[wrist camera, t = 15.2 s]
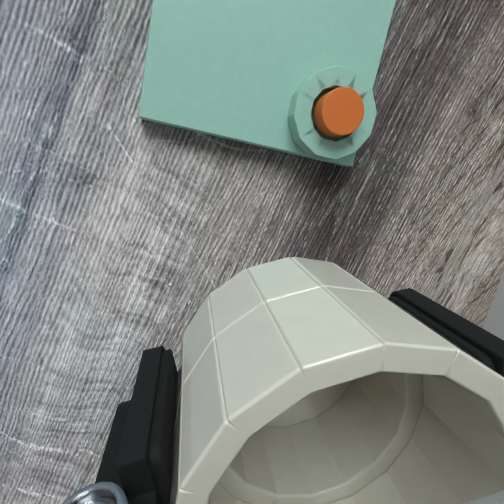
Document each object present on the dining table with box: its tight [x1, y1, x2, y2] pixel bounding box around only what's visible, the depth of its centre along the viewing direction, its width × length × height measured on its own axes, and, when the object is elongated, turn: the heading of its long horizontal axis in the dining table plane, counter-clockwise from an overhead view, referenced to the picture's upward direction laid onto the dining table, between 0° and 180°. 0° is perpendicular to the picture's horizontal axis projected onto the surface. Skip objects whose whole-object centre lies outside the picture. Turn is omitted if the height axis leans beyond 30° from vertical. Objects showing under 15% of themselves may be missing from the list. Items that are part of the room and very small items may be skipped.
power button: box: [314, 87, 364, 137], centre depth 23 cm, size 3×3×2 cm
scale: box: [139, 0, 396, 166], centre depth 23 cm, size 16×14×3 cm
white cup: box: [170, 257, 504, 504], centre depth 8 cm, size 7×7×6 cm
